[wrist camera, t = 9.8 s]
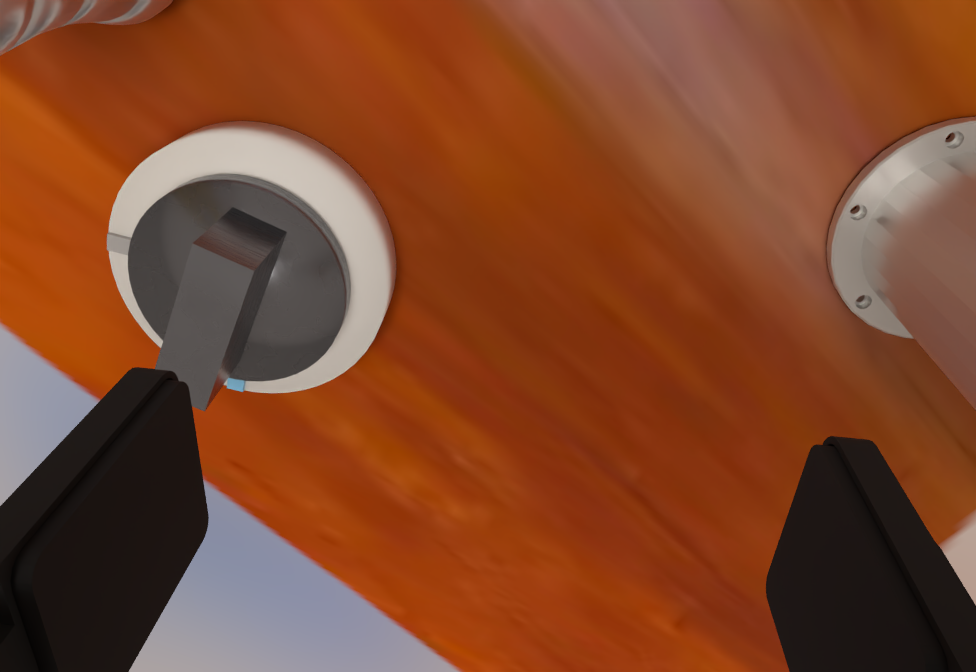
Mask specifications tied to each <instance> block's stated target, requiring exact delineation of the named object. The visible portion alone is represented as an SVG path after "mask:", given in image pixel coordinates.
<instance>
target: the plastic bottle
mask: <svg viewBox="0 0 976 672" xmlns="http://www.w3.org/2000/svg"><path fill="white" fill-rule="evenodd" d="M172 2H173V0H0V55H2V54H4V53H5V52H7V51H9V50H11V49H13V48H15V47H17V46H18V45H20V44H22V43H24V42H26V41H28V40H29V39H31V38H33V37H35V36H37V35H39V34H41V33H44V32H47V31H50V30H53V29H56V28H59V27H62V26H65V25H68V24H78V23H91V22H94V23H100V24H110V25H130V24H138V23H141V22H144V21H146V20H149V19H151V18H152V17H154V16H155V15H157V14H158V13H160V12H161V11H162V10H164V9H165V8H166V7H168V6H169V5H170V4H171V3H172Z"/></svg>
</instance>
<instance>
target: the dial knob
mask: <svg viewBox="0 0 976 672" xmlns="http://www.w3.org/2000/svg"><path fill="white" fill-rule="evenodd" d="M128 273H129V281H130V284H131V288H132V292H133V295H134V297H135V300H136V302H137V305H138V307H139V309H140V310H141V312H142V314H143V316H144V318H145V319H146V321H147V322H148V323H149V325H150V326H151V328H152V329H153V330H154V331H155V332H156V334H157V335H158V336H159V337H160V338H161V339H162V340H163V344H162V347H161V350H160V354H159V357H158V360H157V364H156V367H155V369H158V370H168V371H173V372H174V373H175V374H176V375H177V377H178V380H179V381H183V382H185V383H187V385H188V387H189V391H190V398H191V404H192V406H193V407H195V408H198V409H200V410H203V411H205V410H206V409H207V407H208V406H209V405H210V403H211V402H212V400H213V399H214V397H215V396H216V395H217V393H218V392H219V390H220V389H221V388H222V386H223V385H224V383H225V382H226V380H227V379H228V378H231V379H236V380H243V381H272V380H277V379H282V378H286V377H289V376H292V375H295V374H297V373H299V372H301V371H303V370H305V369H307V368H309V367H310V366H311V365H313V364H314V363H316V362H317V361H318V360H319V359H320V358H321V357H322V356H323V355H324V354H325V353H326V352H327V351H328V349H329V348H330V347H331V345H332V344H333V342H334V340H335V338H336V336H337V335H338V333H339V331H340V329H341V327H342V325H343V323H344V321H345V318H346V315H347V312H348V308H349V303H350V293H351V284H350V275H349V270H348V266H347V262H346V259H345V256H344V254H343V251H342V249H341V247H340V245H339V243H338V241H337V239H336V237H335V236H334V234H333V233H332V231H331V230H330V228H329V227H328V226H327V224H326V223H325V222H324V221H323V220H322V219H321V217H320V216H319V215H318V214H317V213H316V212H315V211H314V210H313V209H312V208H310V207H309V206H308V205H307V204H306V203H305V202H304V201H302V200H301V199H299V198H298V197H296V196H295V195H293V194H292V193H290V192H289V191H287V190H285V189H283V188H281V187H279V186H277V185H275V184H272V183H270V182H267V181H265V180H261V179H258V178H254V177H250V176H244V175H237V174H215V175H207V176H203V177H199V178H195V179H192V180H190V181H188V182H185V183H183V184H181V185H179V186H178V187H176V188H175V189H173V190H172V191H170V192H169V193H167V194H166V195H164V196H163V197H162V198H160V199H159V200H157V201H156V202H155V203H154V204H153V205H152V206H151V207H150V208H149V209H148V210H147V211H146V212H145V213H144V215H143V216H142V217H141V219H140V220H139V222H138V224H137V226H136V228H135V229H134V232H133V235H132V238H131V241H130V245H129V251H128Z"/></svg>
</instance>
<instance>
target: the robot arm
mask: <svg viewBox="0 0 976 672" xmlns="http://www.w3.org/2000/svg"><path fill="white" fill-rule="evenodd" d="M950 133H951V136H950V138H949V139H947V140H946V137H947V136H948V135H949V134H950ZM856 205H857V208H856V209H855V210H853V211H850V210H851V209H852V208H853V207H854V206H856ZM827 262H828V269H829V272H830V276H831V279H832V282H833V285H834V287H835V288H836V290H837V291H838V293H839V295H840V296H841V298H842V300H843V301H844V302H845V304H846V305H847V306H848V307H849V309H850V310H851V311H852V312H853V313H854V314H855V315H857V316H858V317H859V318H860V319H862V320H863V321H864V322H865V323H867V324H868V325H870V326H872V327H874V328H876V329H878V330H880V331H882V332H884V333H887V334H891V335H895V336H899V337H903V338H910V339H915V340H916V341H917V342H918V344H919V345H920V346H921V347H922V348H923V349H924V351H925V352H926V353H927V354H928V355H929V356H930V358H931V359H932V360H933V361H934V362H935V363H936V365H937V366H938V367H939V368H940V369H941V370H942V372H943V373H944V374H945V375H946V376H947V377H948V379H949V380H950V381H951V382H952V383H953V384H954V386H955V387H956V388H957V389H958V390H959V391H960V393H961V394H962V395H963V396H964V397H965V398H966V400H967V401H968V402H969V403H970V404H971V405H972V407H973V408H974V409H975V410H976V117H967V118H958V119H951V120H948V121H944V122H941V123H937V124H934V125H930V126H927V127H925V128H923V129H921V130H918V131H916V132H914V133H912V134H910V135H908V136H906V137H903V138H902V139H900V140H899V141H897V142H896V143H894V144H893V145H891V146H890V147H888V148H887V149H885V150H884V151H882V152H881V153H880V154H879V155H878V156H877V157H876V158H875V159H873V160H872V161H871V162H870V163H869V164H868V165H867V166H866V167H865V168H864V169H863V170H862V171H861V172H860V173H859V175H858V176H857V177H856V178H855V179H854V181H853V182H852V183H851V184H850V186H849V187H848V188H847V190H846V192H845V194H844V195H843V197H842V199H841V201H840V202H839V204H838V206H837V208H836V210H835V213H834V216H833V219H832V222H831V225H830V228H829V234H828V241H827ZM860 296H861V297H860ZM858 297H860V298H858ZM207 527H208V511H207V503H206V496H205V490H204V483H203V477H202V470H201V464H200V457H199V450H198V444H197V437H196V431H195V424H194V418H193V411H192V404H191V398H190V391H189V387H188V385H187V383H185V382H183V381H179V380H178V377H177V375H176V374H175V373H174V372H173V371H168V370H158V369H148V368H138V367H137V368H132V369H131V370H129V371H128V372H127V373H126V374H125V375H124V376H123V377H122V378H121V379H120V381H119V382H118V383H117V384H116V385H115V386H114V387H113V388H112V389H111V390H110V391H109V392H108V393H107V394H106V395H105V396H104V397H103V398H102V400H101V401H100V402H99V403H98V404H97V405H96V406H95V407H94V408H93V409H92V410H91V411H90V412H89V413H88V415H86V416H85V417H84V419H83V420H82V421H81V422H80V423H79V424H78V425H77V426H76V427H75V428H74V429H73V430H72V431H71V432H70V434H69V435H67V437H66V438H65V439H64V440H63V441H62V442H61V443H60V444H59V445H58V446H57V447H56V448H55V449H54V450H53V451H52V452H51V454H49V455H48V457H47V458H46V459H45V460H44V461H43V462H42V463H41V464H40V465H39V466H38V467H37V468H36V469H35V470H34V471H33V472H32V473H31V475H30V476H29V477H28V478H27V479H26V480H25V481H24V482H23V483H22V484H21V485H20V486H19V487H18V488H17V489H16V490H15V491H14V493H12V495H11V496H10V497H9V498H8V499H7V500H6V501H5V502H4V503H3V504H2V505H1V506H0V672H129V669H130V668H131V666H132V664H133V663H134V661H135V659H136V657H137V656H138V654H139V652H140V650H141V649H142V647H143V645H144V643H145V641H146V640H147V638H148V636H149V634H150V633H151V631H152V629H153V628H154V626H155V624H156V622H157V621H158V619H159V617H160V615H161V613H162V612H163V610H164V608H165V606H166V605H167V603H168V601H169V599H170V598H171V596H172V594H173V592H174V591H175V589H176V587H177V585H178V584H179V582H180V580H181V578H182V577H183V575H184V573H185V571H186V570H187V568H188V566H189V564H190V562H191V561H192V559H193V557H194V555H195V553H196V552H197V550H198V548H199V547H200V545H201V543H202V541H203V539H204V537H205V534H206V531H207ZM766 594H767V600H768V603H769V607H770V610H771V613H772V616H773V619H774V623H775V626H776V629H777V632H778V636H779V639H780V642H781V645H782V648H783V652H784V655H785V658H786V661H787V665H788V668H789V671H790V672H976V605H975V604H974V602H973V600H972V599H971V597H970V596H969V594H968V592H967V591H966V589H965V587H964V586H963V584H962V582H961V581H960V579H959V578H958V576H957V574H956V573H955V571H954V569H953V568H952V566H951V564H950V563H949V561H948V560H947V558H946V556H945V555H944V553H943V551H942V550H941V548H940V547H939V546H938V545H937V544H936V542H935V541H934V540H933V538H932V536H931V535H930V533H929V532H928V530H927V528H926V527H925V525H924V523H923V522H922V520H921V518H920V517H919V515H918V513H917V512H916V510H915V509H914V507H913V505H912V504H911V502H910V500H909V499H908V497H907V495H906V494H905V492H904V490H903V489H902V487H901V486H900V484H899V482H898V481H897V479H896V477H895V476H894V474H893V472H892V471H891V469H890V467H889V466H888V464H887V463H886V461H885V459H884V458H883V456H882V454H881V453H880V451H879V449H878V448H877V446H876V445H875V444H874V443H873V441H870V440H864V439H854V438H844V437H834V436H831V437H828V438H827V439H826V440H825V441H824V443H823V445H814V446H813V447H812V448H811V450H810V452H809V455H808V458H807V461H806V464H805V467H804V469H803V472H802V475H801V478H800V481H799V484H798V487H797V490H796V493H795V496H794V499H793V502H792V505H791V507H790V510H789V513H788V516H787V519H786V522H785V525H784V528H783V531H782V534H781V537H780V540H779V542H778V545H777V548H776V551H775V554H774V557H773V560H772V563H771V566H770V569H769V572H768V575H767V581H766Z"/></svg>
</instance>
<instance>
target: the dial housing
mask: <svg viewBox="0 0 976 672" xmlns="http://www.w3.org/2000/svg"><path fill="white" fill-rule="evenodd" d="M215 174H237V175H244V176H250V177H254V178H258V179H261V180H265V181H267V182H270V183H272V184H275V185H277V186H279V187H281V188H283V189H285V190H287V191H289V192H290V193H292V194H293V195H295V196H296V197H298V198H299V199H301V200H302V201H304V202H305V203H306V204H307V205H308V206H309V207H310V208H312V209H313V210H314V211H315V212H316V213H317V214H318V215H319V216H320V217H321V219H322V220H323V221H324V222H325V223H326V224H327V226H328V227H329V228H330V230H331V231H332V233H333V234H334V236H335V237H336V239H337V241H338V243H339V245H340V247H341V249H342V251H343V254H344V256H345V259H346V262H347V266H348V270H349V275H350V284H351V293H350V303H349V308H348V312H347V315H346V318H345V321H344V323H343V325H342V327H341V329H340V331H339V333H338V335H337V336H336V338H335V340H334V342H333V344H332V345H331V347H330V348H329V349H328V351H327V352H326V353H325V354H324V355H323V356H322V357H321V358H320V359H319V360H318V361H317V362H316V363H314V364H313V365H311V366H310V367H309V368H307V369H305V370H303V371H301V372H299V373H297V374H295V375H292V376H289V377H286V378H282V379H277V380H272V381H243V380H236V379H231V378H228V379H227V380H226V382H225V383H224V385H226V386H227V388H229V389H233V390H237V391H241V392H243V391H244V390H246V391H251V392H261V393H288V392H295V391H301V390H305V389H309V388H312V387H316V386H319V385H321V384H323V383H326V382H328V381H330V380H332V379H334V378H336V377H337V376H339V375H341V374H342V373H344V372H345V371H346V370H348V369H349V368H350V367H351V366H353V365H354V364H355V363H356V362H357V361H358V360H359V359H360V358H361V357H362V356H363V354H364V353H365V352H366V351H367V349H368V348H369V346H370V345H371V343H372V342H373V340H374V338H375V336H376V334H377V332H378V330H379V328H380V325H381V323H382V321H383V318H384V316H385V314H386V311H387V309H388V306H389V304H390V301H391V298H392V294H393V291H394V287H395V279H396V252H395V246H394V240H393V236H392V233H391V229H390V226H389V223H388V221H387V218H386V216H385V214H384V212H383V209H382V207H381V205H380V204H379V202H378V200H377V199H376V197H375V195H374V194H373V192H372V191H371V189H370V188H369V187H368V185H367V184H366V183H365V181H364V180H363V179H362V178H361V176H360V175H359V174H358V173H357V172H356V171H355V170H354V169H353V168H352V167H351V166H350V165H349V164H348V163H347V162H346V161H344V160H343V159H342V158H341V157H339V156H338V155H337V154H336V153H334V152H333V151H332V150H330V149H329V148H327V147H326V146H324V145H322V144H321V143H319V142H318V141H316V140H314V139H312V138H310V137H308V136H306V135H303V134H301V133H299V132H297V131H294V130H291V129H288V128H285V127H282V126H278V125H273V124H268V123H263V122H254V121H231V122H222V123H217V124H212V125H208V126H205V127H202V128H199V129H197V130H194V131H191V132H190V133H188V134H186V135H184V136H183V137H181V138H179V139H177V140H176V141H174V142H172V143H170V144H169V145H167V146H165V147H164V148H162V149H160V150H159V151H157V152H155V153H153V154H152V155H151V156H149V157H148V158H147V159H146V160H144V161H143V162H142V163H141V164H140V165H138V167H137V168H136V169H135V170H134V171H133V172H132V173H131V175H130V176H129V177H128V178H127V180H126V181H125V183H124V185H123V186H122V188H121V189H120V191H119V193H118V196H117V198H116V201H115V203H114V205H113V209H112V213H111V217H110V222H109V233H108V234H107V250H109V257H110V262H111V267H112V272H113V275H114V278H115V281H116V284H117V287H118V289H119V292H120V294H121V296H122V298H123V300H124V302H125V304H126V306H127V307H128V309H129V310H130V312H131V314H132V315H133V317H134V318H135V320H136V321H137V322H138V324H139V325H140V326H141V327H142V329H143V330H144V331H145V332H146V334H147V335H148V336H149V337H150V338H151V339H152V340H153V341H154V342H155V343H156V344H157V345H158V346H159V347H160V348H161V347H162V344H163V340H162V339H161V338H160V337H159V336H158V335H157V334H156V332H155V331H154V330H153V329H152V328H151V326H150V325H149V323H148V322H147V321H146V319H145V318H144V316H143V314H142V312H141V310H140V309H139V307H138V305H137V302H136V300H135V297H134V295H133V292H132V288H131V284H130V281H129V273H128V251H129V245H130V241H131V238H132V235H133V232H134V229H135V228H136V226H137V224H138V222H139V220H140V219H141V217H142V216H143V215H144V213H145V212H146V211H147V210H148V209H149V208H150V207H151V206H152V205H153V204H154V203H155V202H156V201H157V200H159V199H160V198H162V197H163V196H164V195H166V194H167V193H169V192H170V191H172V190H173V189H175V188H176V187H178V186H179V185H181V184H183V183H185V182H188V181H190V180H192V179H195V178H199V177H203V176H207V175H215Z"/></svg>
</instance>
